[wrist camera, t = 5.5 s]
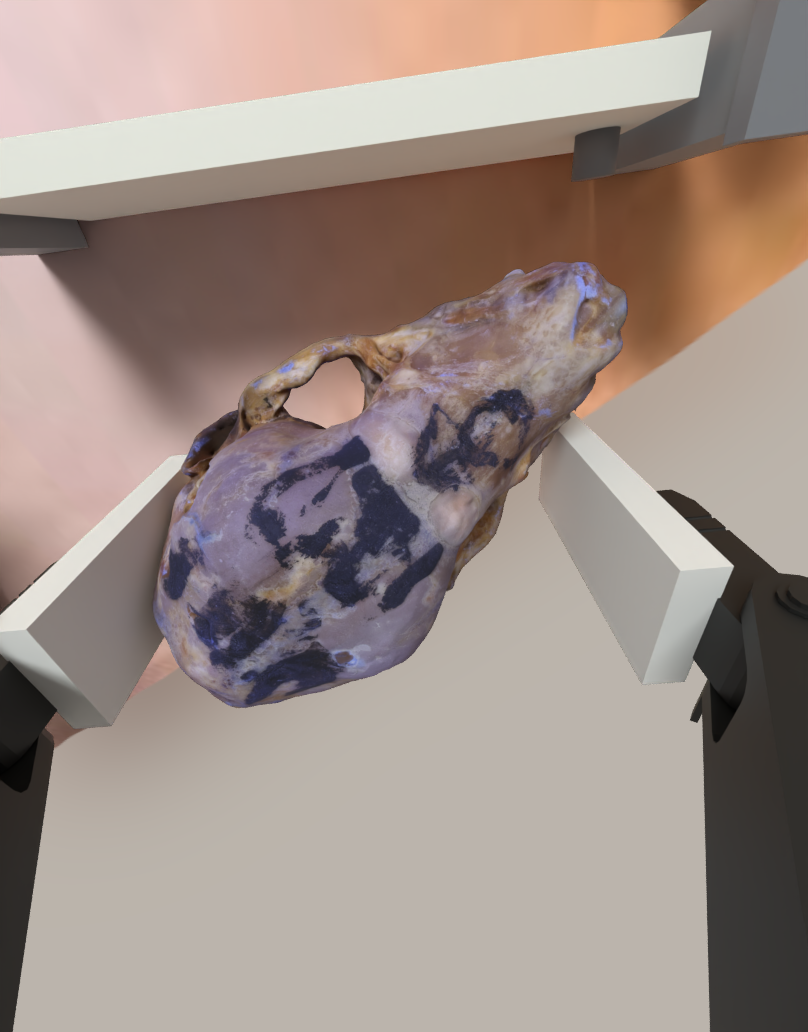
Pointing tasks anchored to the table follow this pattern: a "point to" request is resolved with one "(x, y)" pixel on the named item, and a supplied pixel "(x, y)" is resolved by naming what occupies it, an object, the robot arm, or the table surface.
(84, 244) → the hinge post
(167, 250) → the table surface
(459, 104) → the gate
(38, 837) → the robot arm
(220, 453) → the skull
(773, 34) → the post
